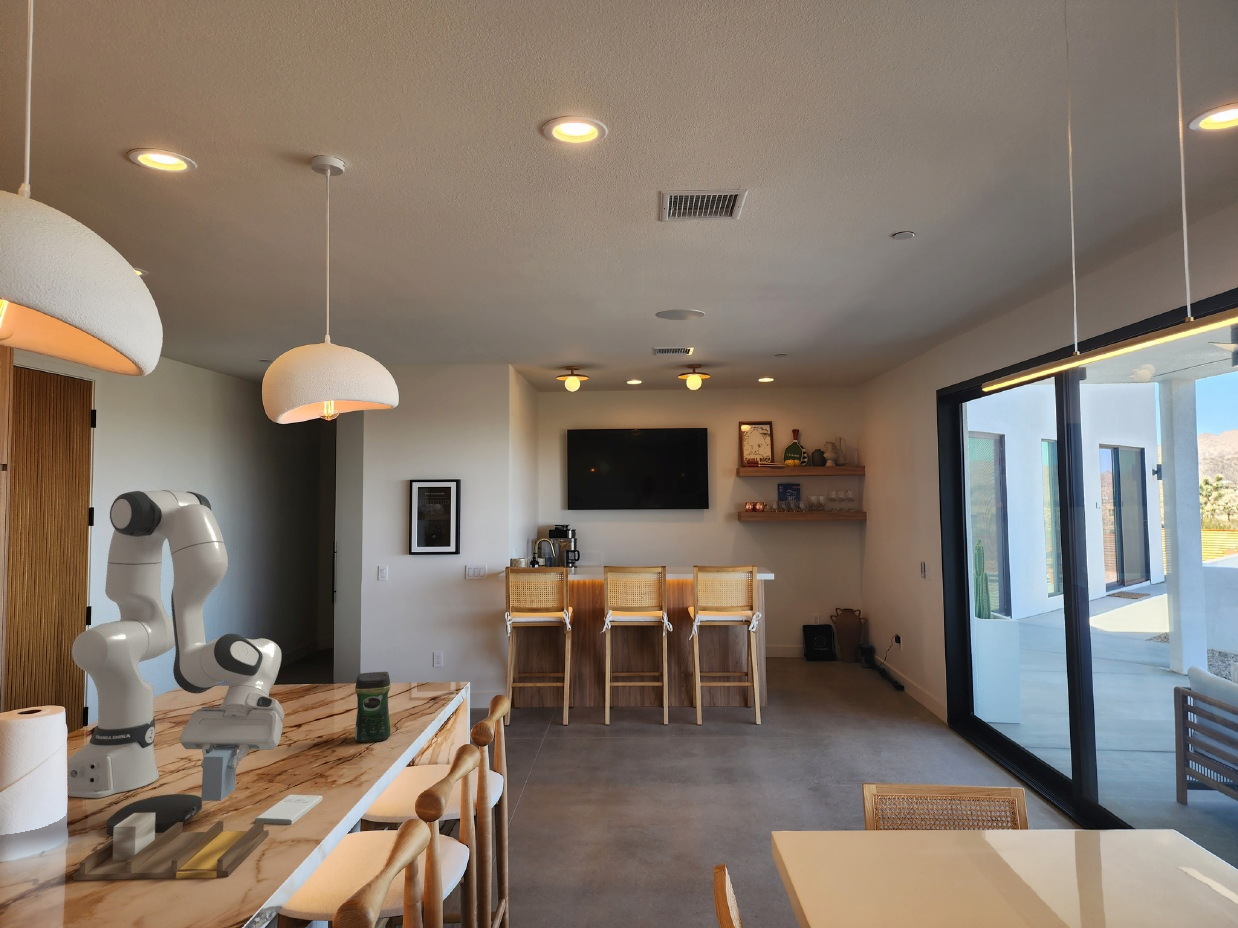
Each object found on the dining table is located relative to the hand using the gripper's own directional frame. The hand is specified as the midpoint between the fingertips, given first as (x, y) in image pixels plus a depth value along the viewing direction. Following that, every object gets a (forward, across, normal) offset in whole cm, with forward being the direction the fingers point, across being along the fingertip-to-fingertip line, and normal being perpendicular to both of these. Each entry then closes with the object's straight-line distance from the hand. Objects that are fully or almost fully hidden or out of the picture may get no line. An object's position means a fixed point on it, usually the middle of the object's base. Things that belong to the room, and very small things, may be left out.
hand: (218, 767), depth 152 cm
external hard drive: (+5, +14, +11) cm, 18 cm away
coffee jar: (-29, +17, +45) cm, 56 cm away
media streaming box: (+7, -13, +10) cm, 18 cm away
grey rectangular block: (+4, 0, +5) cm, 6 cm away
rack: (+19, +1, -3) cm, 19 cm away
